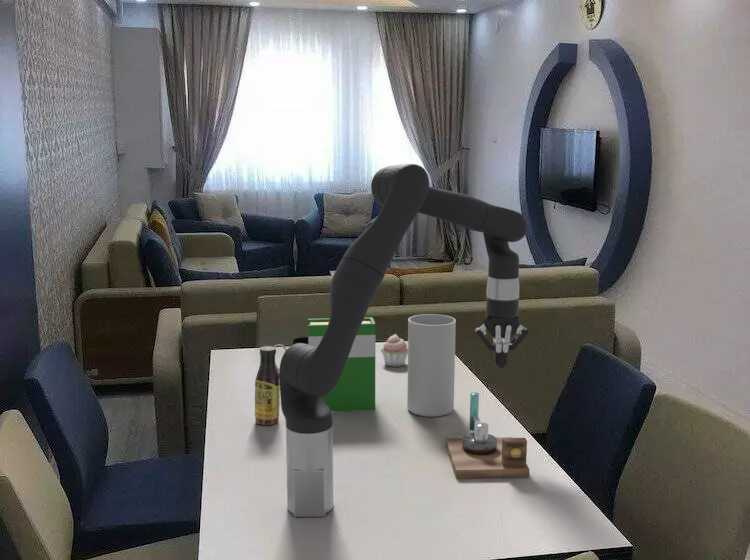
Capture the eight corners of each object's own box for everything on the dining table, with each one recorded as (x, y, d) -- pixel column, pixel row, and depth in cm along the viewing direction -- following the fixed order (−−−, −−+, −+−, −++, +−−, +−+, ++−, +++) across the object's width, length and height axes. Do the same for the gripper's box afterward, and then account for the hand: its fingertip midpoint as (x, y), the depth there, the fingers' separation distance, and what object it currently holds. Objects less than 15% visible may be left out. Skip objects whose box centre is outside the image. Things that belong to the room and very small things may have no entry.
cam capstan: (499, 454, 180) (501, 412, 178) (464, 454, 180) (465, 412, 178) (489, 431, 193) (490, 392, 192) (456, 431, 193) (457, 392, 191)
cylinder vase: (425, 398, 224) (426, 312, 219) (462, 408, 216) (464, 318, 211) (398, 410, 214) (398, 320, 209) (436, 421, 206) (437, 327, 202)
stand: (529, 478, 173) (530, 443, 171) (456, 479, 172) (457, 444, 171) (511, 445, 191) (513, 413, 190) (445, 445, 191) (446, 414, 189)
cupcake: (414, 363, 257) (415, 333, 256) (400, 370, 250) (400, 339, 248) (390, 358, 262) (390, 329, 260) (375, 365, 255) (375, 335, 253)
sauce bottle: (250, 423, 204) (248, 349, 201) (264, 416, 210) (262, 343, 206) (271, 428, 201) (269, 352, 198) (285, 420, 207) (283, 346, 203)
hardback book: (309, 412, 213) (308, 325, 208) (308, 403, 220) (307, 318, 215) (375, 410, 214) (375, 323, 210) (372, 401, 222) (372, 317, 217)
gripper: (477, 299, 182) (475, 371, 185) (534, 298, 183) (531, 371, 186) (472, 292, 190) (470, 362, 193) (527, 292, 190) (524, 361, 193)
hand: (500, 366), depth 189 cm, fingers closed
